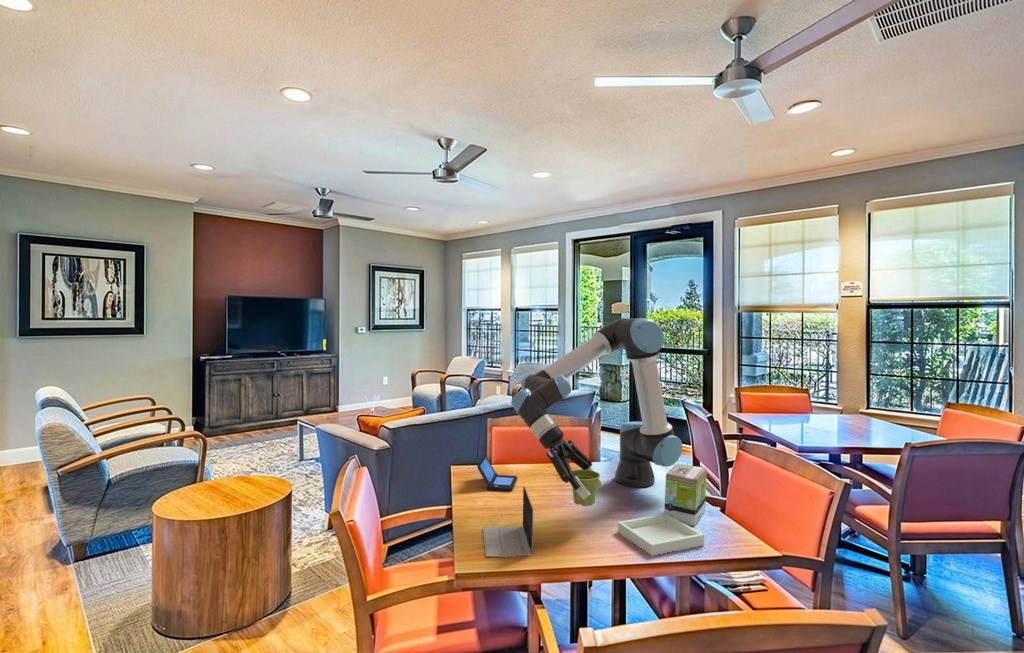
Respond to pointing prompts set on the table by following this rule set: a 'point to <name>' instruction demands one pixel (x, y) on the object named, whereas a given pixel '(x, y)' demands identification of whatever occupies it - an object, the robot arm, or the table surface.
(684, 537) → the sage tray
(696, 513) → the tea box
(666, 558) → the table surface
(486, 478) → the handheld game console
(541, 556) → the table surface
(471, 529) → the table surface
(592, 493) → the plant pot
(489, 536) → the laptop
